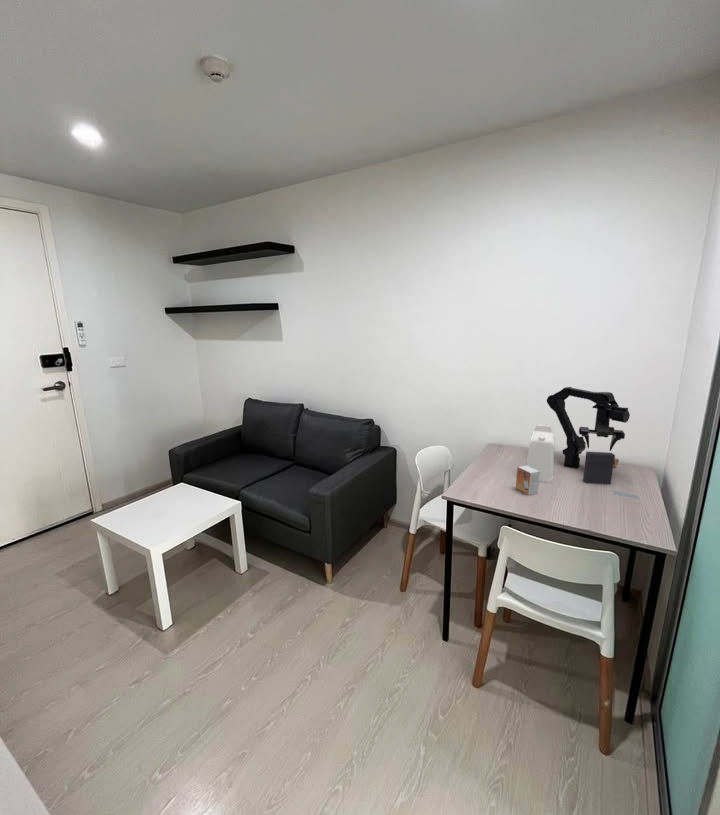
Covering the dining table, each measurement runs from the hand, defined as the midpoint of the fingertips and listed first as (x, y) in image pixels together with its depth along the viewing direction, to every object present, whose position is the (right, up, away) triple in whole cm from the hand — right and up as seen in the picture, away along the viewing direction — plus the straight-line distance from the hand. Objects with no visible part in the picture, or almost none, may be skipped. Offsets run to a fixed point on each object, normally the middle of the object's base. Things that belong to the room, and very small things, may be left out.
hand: (599, 449), depth 194 cm
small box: (-42, -17, -15) cm, 48 cm away
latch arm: (+4, -12, +6) cm, 14 cm away
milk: (-29, -14, 0) cm, 32 cm away
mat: (+1, -17, -17) cm, 24 cm away
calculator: (-6, -15, -8) cm, 18 cm away
